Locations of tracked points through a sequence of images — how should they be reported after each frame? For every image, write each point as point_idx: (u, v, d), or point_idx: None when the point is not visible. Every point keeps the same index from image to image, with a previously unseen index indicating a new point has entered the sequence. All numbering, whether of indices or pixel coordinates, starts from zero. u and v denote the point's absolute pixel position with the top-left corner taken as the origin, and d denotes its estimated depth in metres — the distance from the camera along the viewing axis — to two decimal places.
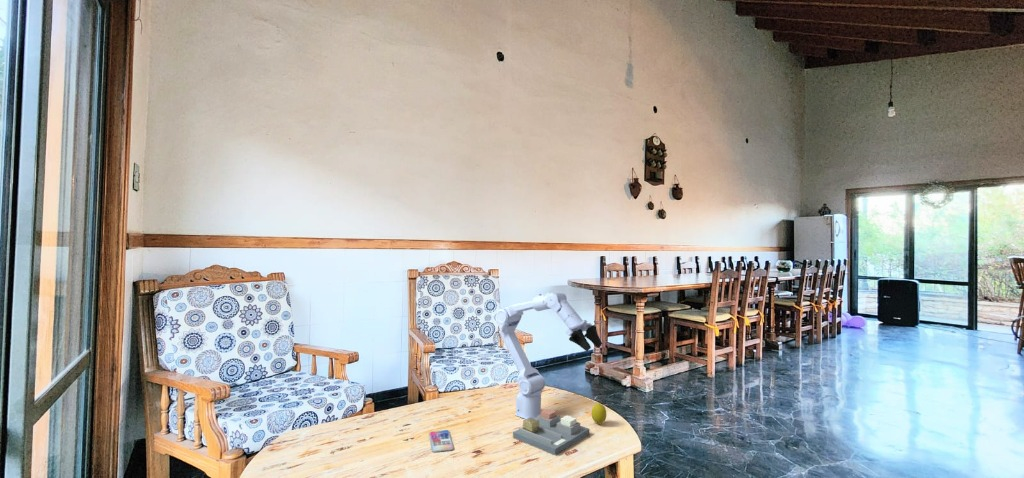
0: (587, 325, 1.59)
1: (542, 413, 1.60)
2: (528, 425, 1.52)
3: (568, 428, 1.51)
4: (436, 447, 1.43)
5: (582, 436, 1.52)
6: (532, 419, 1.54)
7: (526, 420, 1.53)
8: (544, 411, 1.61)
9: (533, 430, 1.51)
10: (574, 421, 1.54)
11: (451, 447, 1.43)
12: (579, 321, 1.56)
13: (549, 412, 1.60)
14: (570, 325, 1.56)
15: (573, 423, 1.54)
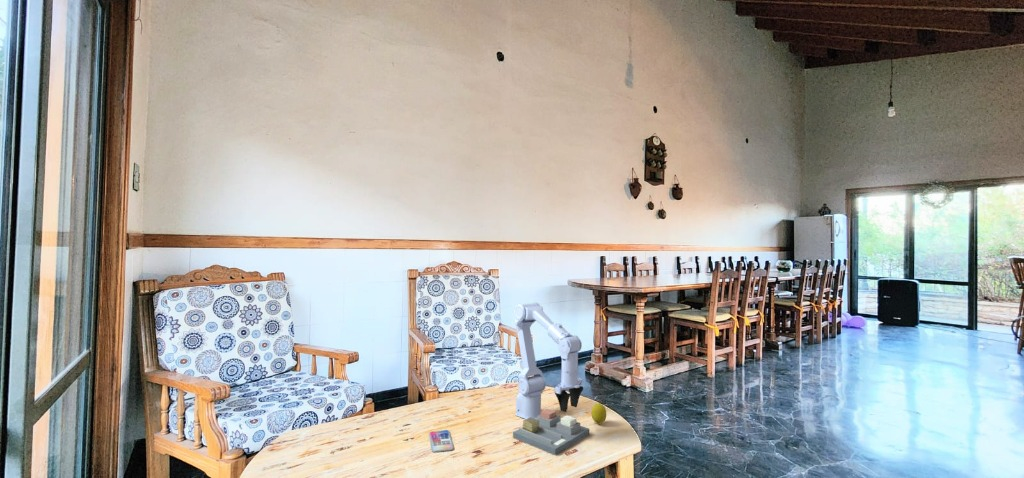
0: None
1: (542, 413, 1.60)
2: (528, 425, 1.52)
3: (568, 428, 1.51)
4: (436, 447, 1.43)
5: (582, 436, 1.52)
6: (532, 419, 1.54)
7: (526, 420, 1.53)
8: (544, 411, 1.61)
9: (533, 430, 1.51)
10: (574, 421, 1.54)
11: (451, 447, 1.43)
12: (573, 383, 1.52)
13: (549, 412, 1.60)
14: (563, 379, 1.53)
15: (573, 423, 1.54)
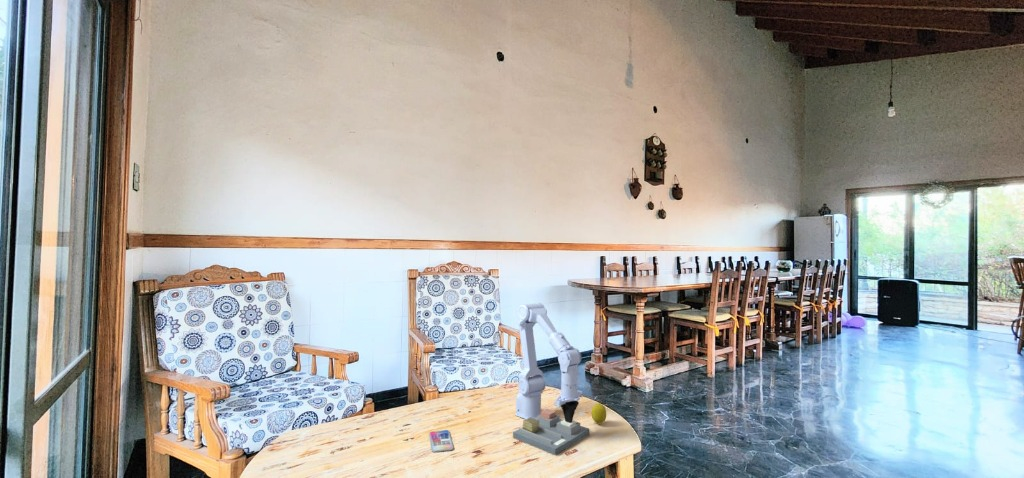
0: None
1: (542, 413, 1.60)
2: (528, 425, 1.52)
3: (568, 428, 1.51)
4: (436, 447, 1.43)
5: (582, 436, 1.52)
6: (532, 419, 1.54)
7: (526, 420, 1.53)
8: (544, 411, 1.61)
9: (533, 430, 1.51)
10: (574, 424, 1.54)
11: (451, 447, 1.43)
12: (573, 396, 1.52)
13: (549, 412, 1.60)
14: (563, 392, 1.53)
15: None
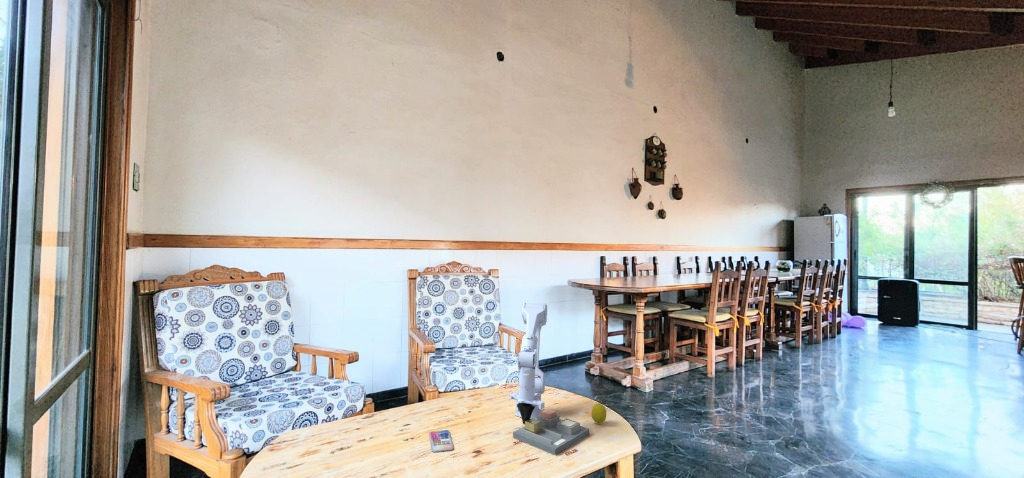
0: None
1: (542, 413, 1.60)
2: (529, 426, 1.51)
3: (568, 428, 1.51)
4: (436, 447, 1.43)
5: (582, 436, 1.52)
6: (534, 420, 1.54)
7: (528, 421, 1.53)
8: (544, 411, 1.61)
9: (535, 431, 1.50)
10: None
11: (451, 447, 1.43)
12: (519, 396, 1.54)
13: (549, 412, 1.60)
14: None
15: None
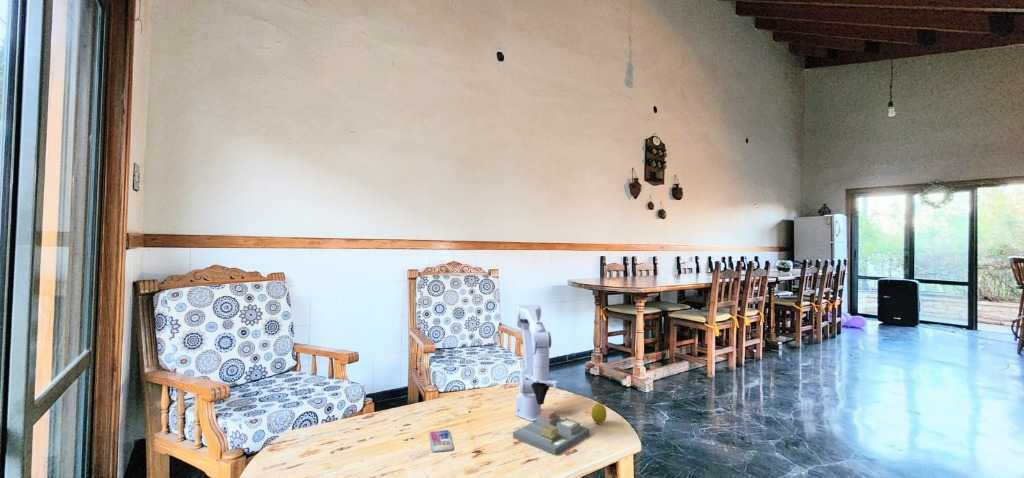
0: None
1: (542, 413, 1.60)
2: (546, 432, 1.46)
3: (568, 428, 1.51)
4: (436, 447, 1.43)
5: (582, 436, 1.52)
6: (551, 426, 1.49)
7: (544, 427, 1.48)
8: (544, 411, 1.61)
9: (552, 437, 1.46)
10: None
11: (451, 447, 1.43)
12: (533, 376, 1.56)
13: (549, 412, 1.60)
14: None
15: None
